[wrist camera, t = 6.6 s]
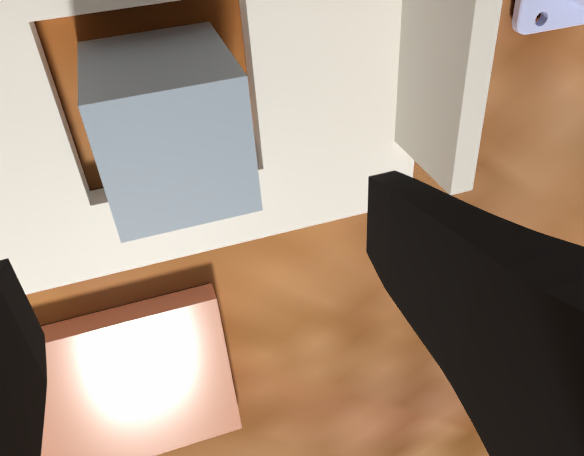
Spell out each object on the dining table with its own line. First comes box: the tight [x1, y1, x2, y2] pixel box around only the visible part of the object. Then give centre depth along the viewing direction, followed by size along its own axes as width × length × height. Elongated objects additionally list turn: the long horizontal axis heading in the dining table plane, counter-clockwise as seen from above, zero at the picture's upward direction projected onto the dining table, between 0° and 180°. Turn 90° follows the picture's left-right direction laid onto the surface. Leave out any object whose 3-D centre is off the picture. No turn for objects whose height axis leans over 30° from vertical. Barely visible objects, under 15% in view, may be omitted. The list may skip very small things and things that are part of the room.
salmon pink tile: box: [41, 283, 242, 456], centre depth 25 cm, size 9×9×1 cm
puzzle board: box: [0, 0, 503, 294], centre depth 14 cm, size 18×18×5 cm
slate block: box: [78, 22, 263, 243], centre depth 16 cm, size 4×4×5 cm
